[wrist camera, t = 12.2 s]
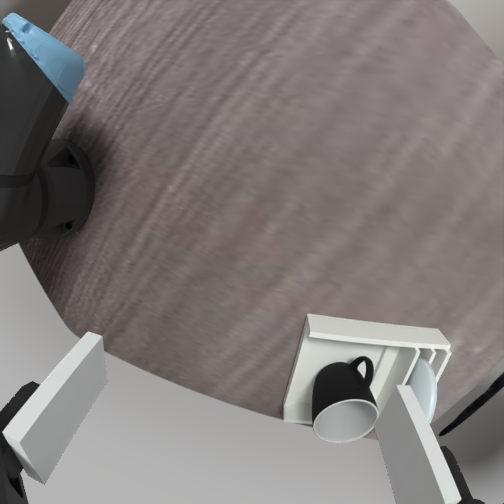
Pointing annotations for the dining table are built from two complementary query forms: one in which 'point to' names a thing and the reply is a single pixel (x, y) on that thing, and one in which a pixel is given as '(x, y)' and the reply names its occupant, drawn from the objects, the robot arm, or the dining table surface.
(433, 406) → the plate in rack
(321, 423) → the mug
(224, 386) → the dining table surface
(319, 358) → the dish rack
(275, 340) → the dining table surface
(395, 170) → the dining table surface
